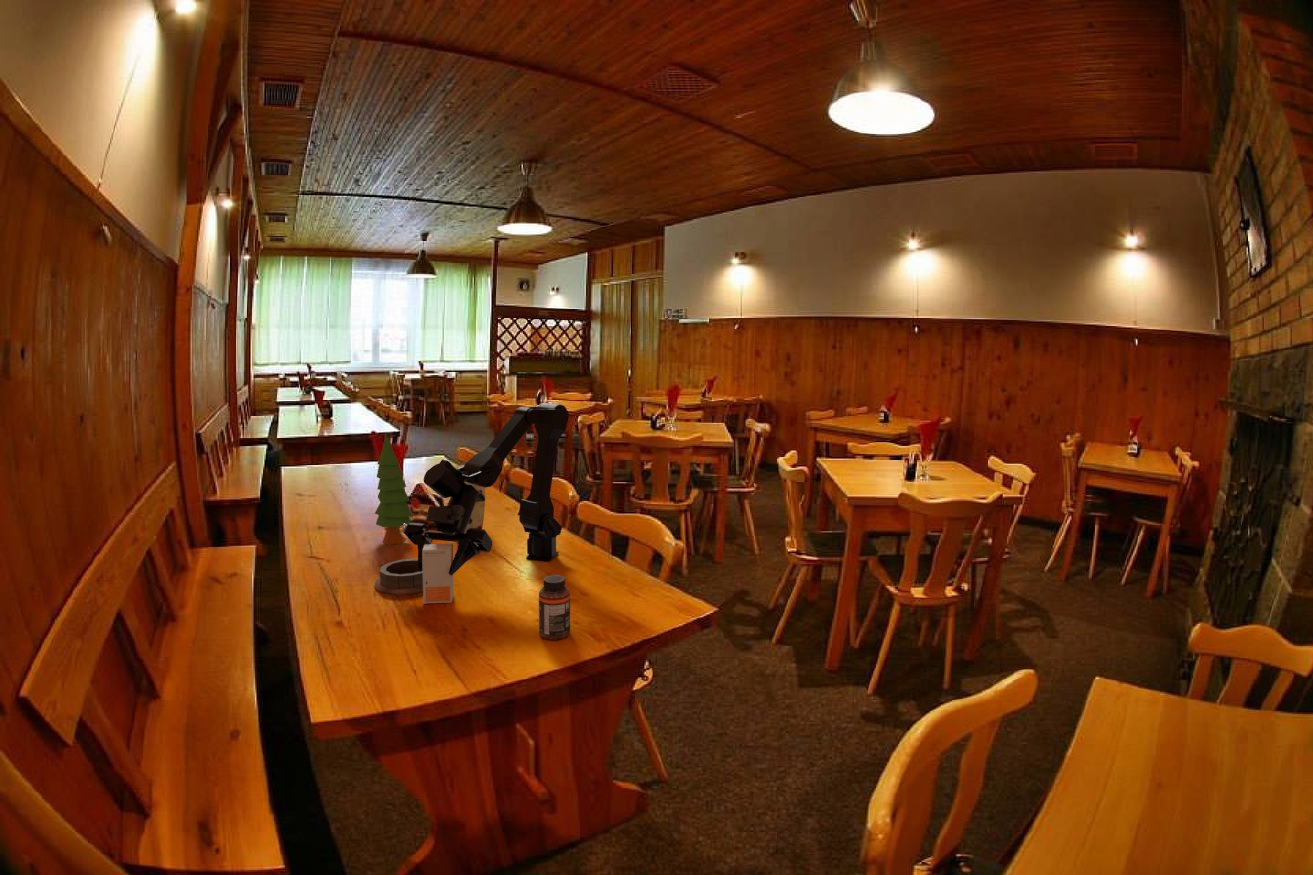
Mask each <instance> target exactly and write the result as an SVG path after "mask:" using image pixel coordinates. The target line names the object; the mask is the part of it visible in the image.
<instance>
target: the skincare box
mask: <svg viewBox="0 0 1313 875" xmlns="http://www.w3.org/2000/svg"><path fill="white" fill-rule="evenodd" d="M453 559H454V544H453V543H431V544H426V545H424V547H423V550H422V568H423V592H422V603H423V605H426V604H443V603H444V604H452V603H453V599H454V595H455V594H454V593H455V591H454V590H455V587H454V574H453V575H450V574H449V570H450V567H451V564H452V562H453Z"/></svg>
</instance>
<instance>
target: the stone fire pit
mask: <svg viewBox="0 0 1313 875" xmlns="http://www.w3.org/2000/svg"><path fill="white" fill-rule="evenodd" d="M417 568H418V558H408V559H407V558H406V559H399V560H395V561H390V562H388V563H386V564H384V565H382V566H380V570H379V577H378V578H377V579H376V580H375V582H374V588H375V590H376V591H377V592H380V593H381V594H387V595H392V596H397V595H399V596H401V595H413V594H419V593H423V570H422V571H421V572H419V571H418V569H417Z"/></svg>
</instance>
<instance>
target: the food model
mask: <svg viewBox="0 0 1313 875" xmlns="http://www.w3.org/2000/svg"><path fill="white" fill-rule="evenodd" d="M464 465H465V464H461V465H458V466H455V468H456V469H458V468H460V467H463V466H464ZM464 483H465V484H467V485H472V486H473V487H474V488H476V489H477V490H482V493H483V495H484V497H485V498H486V487H481V486H477V485H473V484H469V483H467V482H465V481H464ZM485 507H486V500H485V501H482V502H476V504H475V507H474V509H473V512H472V515H471V519H472V520H473V521H472V523H471V524H468V525H467V528H466V531H465V533H464V534H466V532H467V530H468V529H470V528H475V529H483V526H484V520H485Z"/></svg>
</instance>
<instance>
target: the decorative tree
mask: <svg viewBox="0 0 1313 875" xmlns="http://www.w3.org/2000/svg"><path fill="white" fill-rule="evenodd" d="M376 465H378V469H377V474H376V478H378V479H379V480H378V484H377V490H379V492H378V494H377V498H378V501H379V502H380V503H379V504H378V507H377V508H376V510H375V512H374V515H378V517H377V518H376V523H375V525H376V526H379V527H381V528H387V529H386V532H385V534H384V537H383V539H382V543H383V544H385V545H386V546H388V545H398V544H403V543H405V542H406V540H407V537H405V536H404V535H403V534H402V533H401V530H400V529H401V527H403V526H404V525H408V524H409V523H412V522H411V519H410V517H413V513H412V510H411V507H409V504H408V503H407V502H409V501H410V499H409V496H408V494H407V492H406V490H405V488H407V484H406V482H405V480H404V478H403V476H404V473H403V471H402V469H401V467H400V462H399V460H398V457H397V455H396V454H395V451H394V449H393V446H392V444H391V441H390V439H389V436H388V435H387V433H386V432H385V433H384V442H383V445H382V449H381V454H380V456H379V458H378V461H377V464H376Z"/></svg>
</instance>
